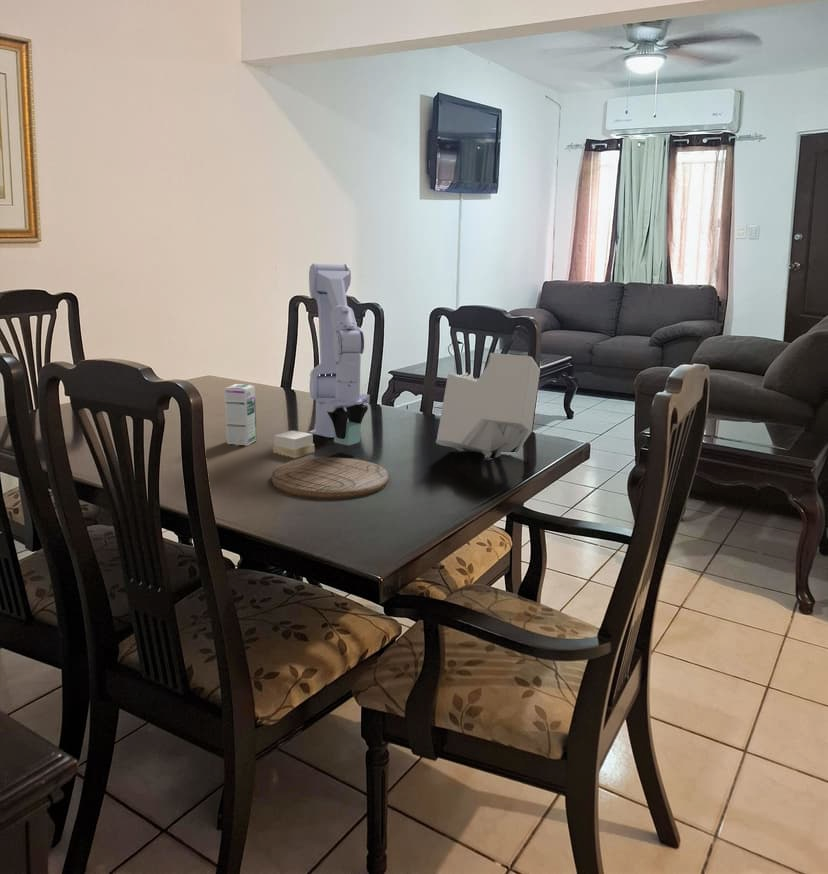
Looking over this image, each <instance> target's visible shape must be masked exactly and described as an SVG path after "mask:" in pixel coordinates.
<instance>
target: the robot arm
mask: <svg viewBox="0 0 828 874" xmlns="http://www.w3.org/2000/svg"><path fill="white" fill-rule="evenodd" d="M351 276H352V274H351V268H350V266H349V265H348V263H344V264H328V263H327V264H325V263H324V264H323V263H322V264H321V263H311V265H310V266H309V271H308V284H309V294H310V297H311V298H313V299H314V300H316V304H317V313H318V332H319V333H318V335H319V364H317V365H316V366H315V367H314V368H312V369H311V371H310V374H309V378H310V379H309V394H310V397H311V399H312V400H314V401H315V429H312V430H309V431H308V433H309V434H313V435H317V436H321V437H325V438H328V439H329V438H331V439H332V438H334V429H335V433H336V437H337V438H340V439H345V435H346V425H347V421H349V422H354V423H359V424H362V422H363V419H364V417H365V415H366V413H367V412H368V409H369V405H366V404H368V403H370V402H371V401H370V399H371V398H370V394H366V393H365V394H364V393H363V394H361V360H362V358H361V356H362V355H363V353H364V351H365V336H364V332H363V330H362V329H361V328H360V326H358V325H357V321H356V317H355V312H354V309H353V308H352V307H349V306H348V300H347V292H348V290H349V287H350V285H351V280H352V277H351Z"/></svg>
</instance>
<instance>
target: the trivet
mask: <svg viewBox="0 0 828 874" xmlns="http://www.w3.org/2000/svg"><path fill="white" fill-rule="evenodd" d="M271 483H273V484H272V485H273V486H274V487H275V488H276V489H277V490H279V491H281V492H282V491H283V493H285V492H286V493H287V494H289V495H293V496H296V497H302V498H306V499H307V498H308V499H320V500H326V499H327V500H341V499H342V500H343V499H351V498H352V499H353V498H358V497H364V495H365V496H368V495H369V496H370V495H371V493H372V494H374V492H375V493H377V492H376V491H378V492H380V491H381V490H383V489H384V488H383V487H385V486H386V487H387V485H388V484H387V483H389V472H388V470H386V469H385V467H383V466H381V465H379V464H376V463H374V462H371V461H367V460H361V459H356V458H348V457H347V458H346V457H310V458H305V459H304V458H303V459H298V460H297V459H296V460H293V461H288V462H285V463H283V464H281V465H278V466H277V467H276V468H275V469H273V470H272V473H271ZM386 487H385V488H386ZM382 488H383V489H382ZM380 489H381V490H380ZM379 490H380V491H379Z"/></svg>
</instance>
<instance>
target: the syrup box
mask: <svg viewBox="0 0 828 874" xmlns="http://www.w3.org/2000/svg"><path fill="white" fill-rule="evenodd" d="M256 405H257V404H256V385H254V384H249V383H234V384H232V385H229V386H228V387H224V407H225V410H224V411H225V429H226V430H225V432H226V433H225V434H226V435H225V436H226V445H230V444H235V445H234V446H239V445H245V446H244V447H249V446H250V445H251V444H253V443H254V442H256V441H258V440H257V439H258V437H257V411H256V410H257V409H256Z"/></svg>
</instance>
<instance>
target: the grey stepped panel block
mask: <svg viewBox="0 0 828 874" xmlns="http://www.w3.org/2000/svg"><path fill="white" fill-rule="evenodd" d="M540 374H541V369H540V368H539V366H538V364H537V362H535V359H534V358H533V356H530V355H520V354H518V355H517V354H508V353H497V352H490V353H489V356H488V360H487V364H486V366H485V368H484V370H483V371H482V373H481V374H480V375H479V377H476V378H474V377H475V376H473V373H470V374H469V373H468V372H465V373H462V374H460V375H459V373H458V374H455V375H453V374H449V373H448V374H447V378H446V382H445V383H446V385H445V389H444V396H443V402H442V407H441V411H440V412H441V413H440V419H439V425H438V430H437V435H436V436H437V437H436V440H435V444H437V445H440V446H442V447H443V446H444V447H450V448H453V449H455V450H457V451H459V452H461V451H464V450H466V451H467V450H469V449H471V451H474V450H477V451H476V452H480V451H481V453H482V455H483V456H484V457H485V458H487V457H488V458H494V459H495V458H498V457H501V452H517V454H518V453H519V452H518V451H520V450H521V448H522V446H523V445H524V444H525V442H526V441H527V439H528V437H530V435H531V434H532V431H533V423H534V416H535V409H536V402H537V395H538V390H539V389H538V388H539V382H540V381H539V379H540ZM463 448H465V449H463Z"/></svg>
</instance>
